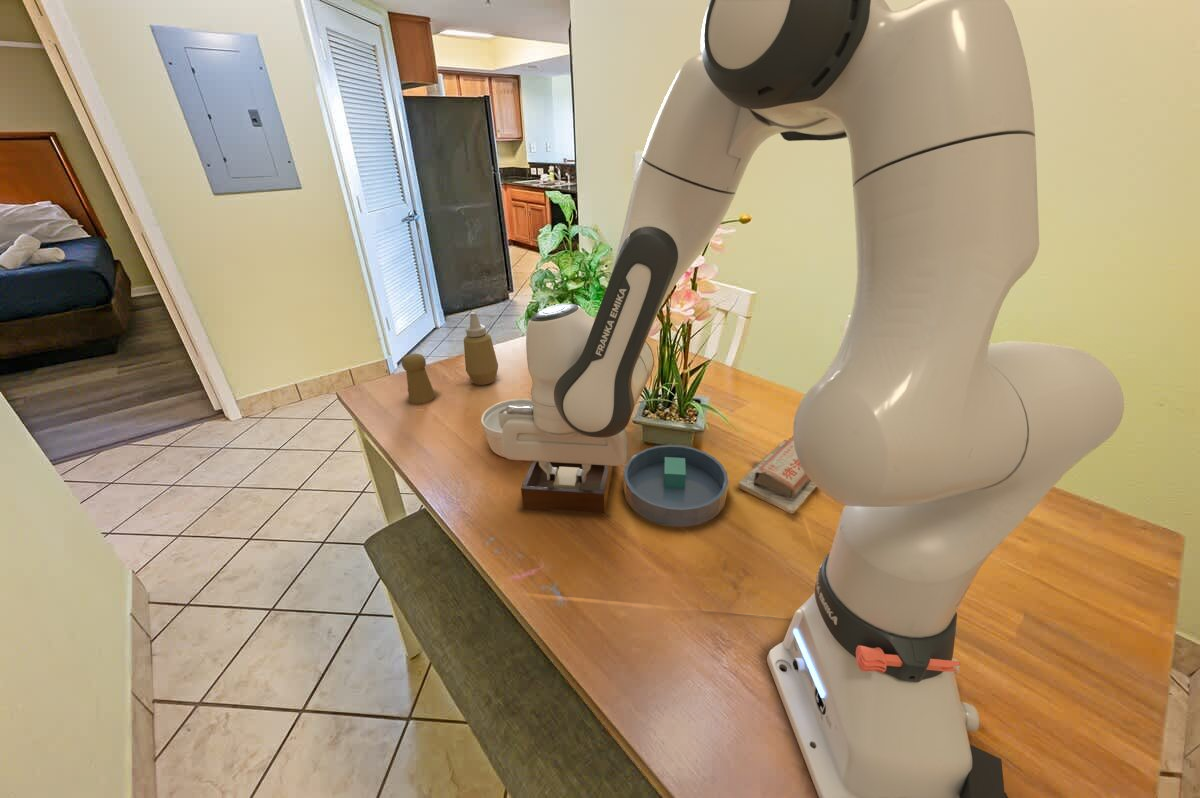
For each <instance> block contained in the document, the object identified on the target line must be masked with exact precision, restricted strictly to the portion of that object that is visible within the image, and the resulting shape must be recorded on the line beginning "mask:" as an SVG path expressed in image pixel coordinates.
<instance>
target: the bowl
mask: <svg viewBox="0 0 1200 798" xmlns="http://www.w3.org/2000/svg"><path fill="white" fill-rule="evenodd" d="M665 457H673V458H685V465H686V480H685V489H684V488H668V487H664V464H665ZM728 489H729V475H728V473H727V470H726V469H725V467H724V465H723V464H722V463H721V462H720V461H719V460H718V459H717V458H715V457H714V456H713V455H711V454H709V453H707V452H706V451H704V450H701V449H697V448H695V447H692V446H686V445H680V444H664V445H662V444H661V445H654V446H651V447H648V448H647V447H646V448H645V449H643V450H641V451H639V452H637V453H635V454H634V455H633V456H632V457H631V458H629V460H628V461H627V463H626V465H625V466H624V471H623V493H624V498H625V500H626V503H628V505H629V507H630V508H631V509H632V510H633V511H634V512H635V513H636V514H638V515H639V516H641V517H642V518H644V519H646V520H648V521H650V522H652V523H655V524H659V525H661V526H662V525H663V526H667V527H675V528H678V527H679V528H681V527H682V528H683V527H694V526H697V525H702V524H704V523H706V522H708V521H709V522H710V520H712V519H714V518H715V517H716V516H718V515H719V514H720V513H721V512H722V511H723V509H724V508H725V505H726V501H727V495H728Z"/></svg>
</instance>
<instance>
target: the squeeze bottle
mask: <svg viewBox="0 0 1200 798" xmlns="http://www.w3.org/2000/svg"><path fill="white" fill-rule="evenodd" d="M469 316H470V319H469V326H466V327H465V333H466V335H465V336H464V337H463V349H464V363H465V364H464V365H465V372H466V373H467V375H468V377H469V379H470V380H471V382H472V383H473V385H477V386H486V385H489V384H492V383H494V382H495V381H496V379H497V375H498V369H499V363H498V359H497V356H496V355H497V354H496V351H495V348H494V343H493V339H492V336H491V334H489V333H487V329H486V325H484V324H481V323H480V320H479V318H478V315H477V312H475V311H473V312H470V315H469Z"/></svg>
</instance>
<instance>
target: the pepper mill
mask: <svg viewBox="0 0 1200 798" xmlns="http://www.w3.org/2000/svg"><path fill="white" fill-rule="evenodd" d="M426 364H427V363H426V358H425V356H423V354H420V353H410V354H406V355H404V357H403V358H402V360H401V367H402V368H403V370H404V371H406V381H407V392H408V401H409V402H410V403H411V404H415V405H421V404H426V403H429V402H431V401H433V400H434V399H435V397H436V393H435V390H434V388H433V385H432V383H431V380H430V377H429V375H428V373H427V370H426Z"/></svg>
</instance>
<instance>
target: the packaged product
mask: <svg viewBox="0 0 1200 798" xmlns="http://www.w3.org/2000/svg"><path fill="white" fill-rule="evenodd" d="M738 488H739V489H740V490H742V491H744V492H746V493H748V494H750V495H752V496H754V497H756V498H757V499H760V500H762V501H764V502H767V504H770V505H772V506H775V507H776V508H779V509H780V510H782V511H784V512H786V513H789V514H792V515H793V514H795V513H796V511H797V510H798V509H799V508H800V507H801V506H802V505H803V504H804V503H805V501H806V499H807V498H808V497H809V496H810V495H811V494H812V493H813V491H814V490H815V489H817V487H816V486H815V485H814V483H813V482H812V481H811V480H810V479H809V477H808V476H807V475H806V473H805V472H804V470H803V468H802V466H801V464H800V462H799V460H798V457H797V454H796V451H795V447H794V440H793V435H792V436H791V437H789V439H784V440H783V441H782V442H781V443H780V444H779V445H777V447H775V448H774V449H773V450H772V451H771V452H770V453H769V454H768V455H767V456H765V457H764V459H763V460H761V461H760V462H759V463H758V464H756V466H755V467H754V468H753V469H752V470H750V471H749V472H748V473H746V475H745V476H744V477H743V478H742V479H741V480H740V481H738Z"/></svg>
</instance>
